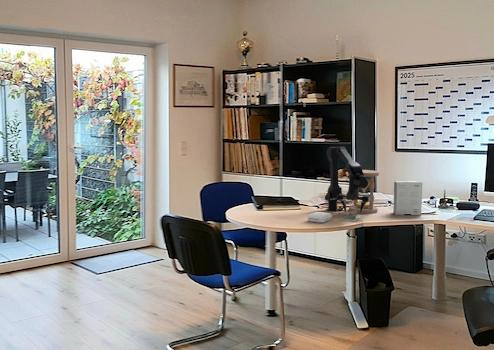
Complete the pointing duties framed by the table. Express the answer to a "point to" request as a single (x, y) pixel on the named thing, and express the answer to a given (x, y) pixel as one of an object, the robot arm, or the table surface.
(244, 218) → the table surface
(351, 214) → the turner
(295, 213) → the table surface
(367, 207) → the hourglass
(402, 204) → the hard drive box
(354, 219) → the mat
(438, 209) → the eiffel tower figurine
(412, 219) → the table surface
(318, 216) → the photo printer
